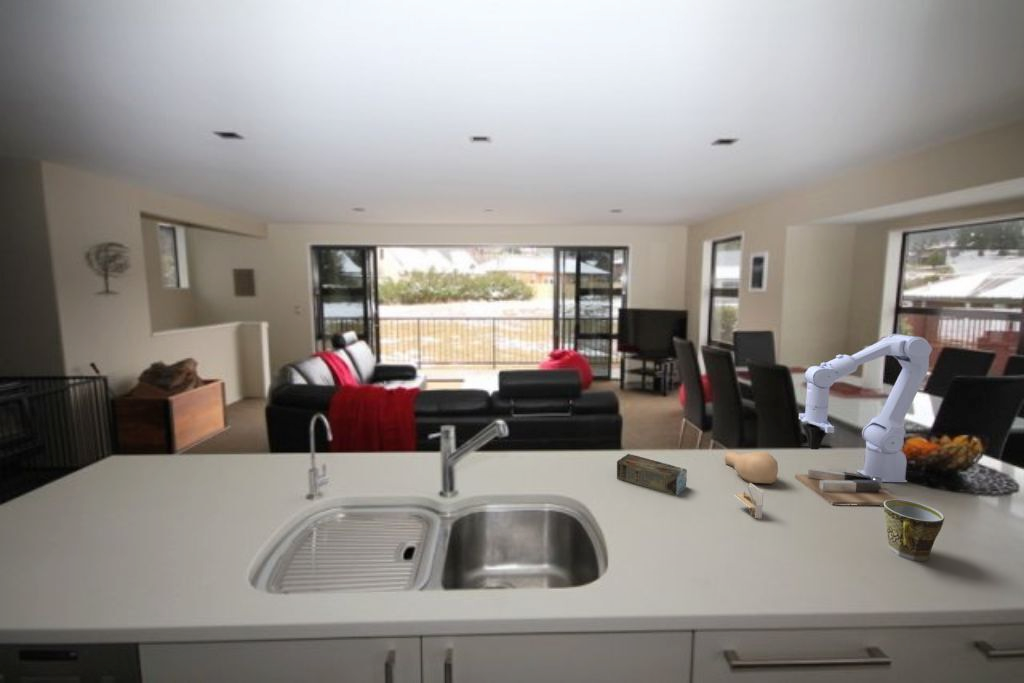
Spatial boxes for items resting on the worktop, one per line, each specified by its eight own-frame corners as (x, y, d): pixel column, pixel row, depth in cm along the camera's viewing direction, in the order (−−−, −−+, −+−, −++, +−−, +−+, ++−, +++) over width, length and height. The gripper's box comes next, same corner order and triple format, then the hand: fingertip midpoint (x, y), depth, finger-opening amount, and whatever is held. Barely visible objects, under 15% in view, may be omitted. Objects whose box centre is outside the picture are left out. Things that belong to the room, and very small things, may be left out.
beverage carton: (676, 497, 129) (677, 475, 128) (615, 479, 141) (615, 459, 140) (687, 488, 135) (687, 466, 134) (626, 471, 147) (627, 451, 146)
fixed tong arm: (873, 489, 130) (874, 480, 129) (878, 492, 128) (879, 482, 128) (819, 489, 131) (819, 479, 130) (823, 492, 129) (823, 482, 128)
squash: (756, 491, 132) (751, 461, 132) (716, 473, 152) (710, 446, 152) (789, 482, 134) (784, 452, 134) (745, 465, 154) (740, 439, 153)
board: (858, 478, 140) (859, 475, 140) (906, 506, 122) (906, 502, 122) (794, 477, 141) (795, 474, 141) (832, 505, 123) (832, 501, 123)
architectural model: (749, 520, 116) (751, 492, 115) (733, 507, 123) (735, 481, 122) (762, 520, 117) (764, 492, 116) (746, 507, 123) (747, 480, 123)
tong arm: (880, 486, 131) (881, 477, 131) (882, 489, 129) (883, 480, 129) (807, 475, 140) (807, 466, 139) (807, 478, 138) (808, 469, 137)
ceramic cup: (884, 535, 108) (888, 495, 107) (942, 553, 101) (947, 510, 99) (872, 557, 100) (876, 513, 98) (934, 578, 92) (939, 531, 91)
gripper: (790, 399, 148) (787, 440, 149) (817, 412, 133) (814, 456, 135) (812, 399, 147) (809, 440, 149) (842, 412, 133) (839, 457, 135)
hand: (813, 448), depth 142 cm, fingers closed
